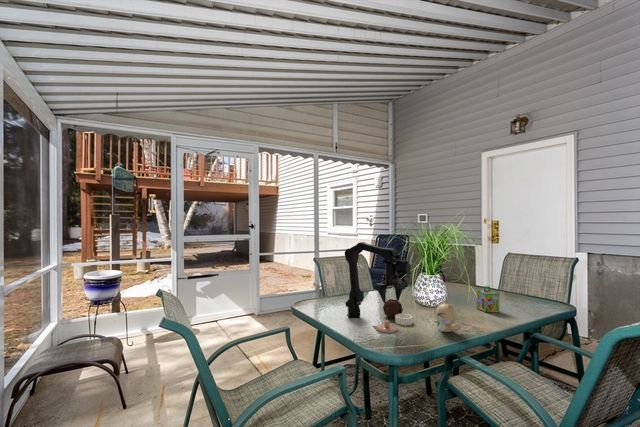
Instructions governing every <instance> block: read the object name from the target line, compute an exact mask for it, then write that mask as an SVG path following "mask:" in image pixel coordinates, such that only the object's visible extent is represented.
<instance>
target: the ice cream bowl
mask: <svg viewBox="0 0 640 427" xmlns="http://www.w3.org/2000/svg"><path fill="white" fill-rule="evenodd" d="M382 311H383V313H384V315H385V317H387V318H390V319H392V318H393V319H395V315H396V314H401V313H402V314H403V307H402V303H401V302H400V301H397V299H388V300H386V301H385V303H383V306H382Z"/></svg>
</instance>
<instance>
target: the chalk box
mask: <svg viewBox="0 0 640 427" xmlns="http://www.w3.org/2000/svg"><path fill="white" fill-rule="evenodd" d="M487 289H488V290H487ZM478 309H479V310H478ZM476 310H478V311H481V310H482V311H481V312H483V313H486V312H493V313H497V312H496V311H499V312H500V293H498V292H495V291H492V290H491V287H490V286H489V285H488V286H486V285H485V286H483V290H476Z"/></svg>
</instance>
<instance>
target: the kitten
mask: <svg viewBox="0 0 640 427" xmlns="http://www.w3.org/2000/svg"><path fill="white" fill-rule="evenodd" d="M434 316H435V319H436V320H437V321H436V323H437V328H438V331H439V332H440V333H443V332H444V333H451V332H458V331H460V330H461V329H462V325H460V324H457V326H456V327H455V328H454V327H453V326H452V324H455V323H456V320H457V312H456V310H455V308H454V304H453V303H449V304H448V303H447V302H446V301H445V299H444V298H443V299H441V304H439V305H438V306H437V307H436V309H434Z"/></svg>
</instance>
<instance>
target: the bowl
mask: <svg viewBox="0 0 640 427" xmlns="http://www.w3.org/2000/svg"><path fill="white" fill-rule="evenodd" d="M413 322H414V321H413V315H411V314H410V313H405V312H404V313H403V312H402V313H401V314H396V315H395V318H394V323H395V324H396V325H400V326H411V325H413Z"/></svg>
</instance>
